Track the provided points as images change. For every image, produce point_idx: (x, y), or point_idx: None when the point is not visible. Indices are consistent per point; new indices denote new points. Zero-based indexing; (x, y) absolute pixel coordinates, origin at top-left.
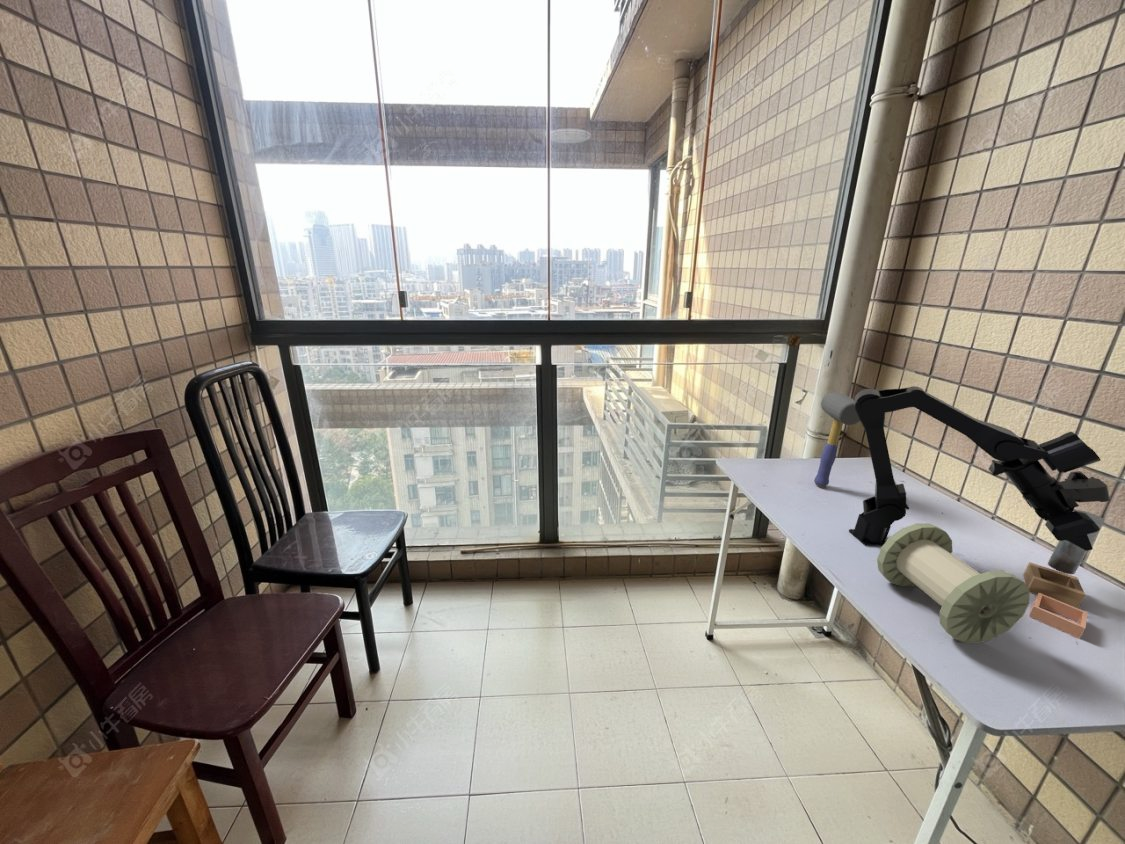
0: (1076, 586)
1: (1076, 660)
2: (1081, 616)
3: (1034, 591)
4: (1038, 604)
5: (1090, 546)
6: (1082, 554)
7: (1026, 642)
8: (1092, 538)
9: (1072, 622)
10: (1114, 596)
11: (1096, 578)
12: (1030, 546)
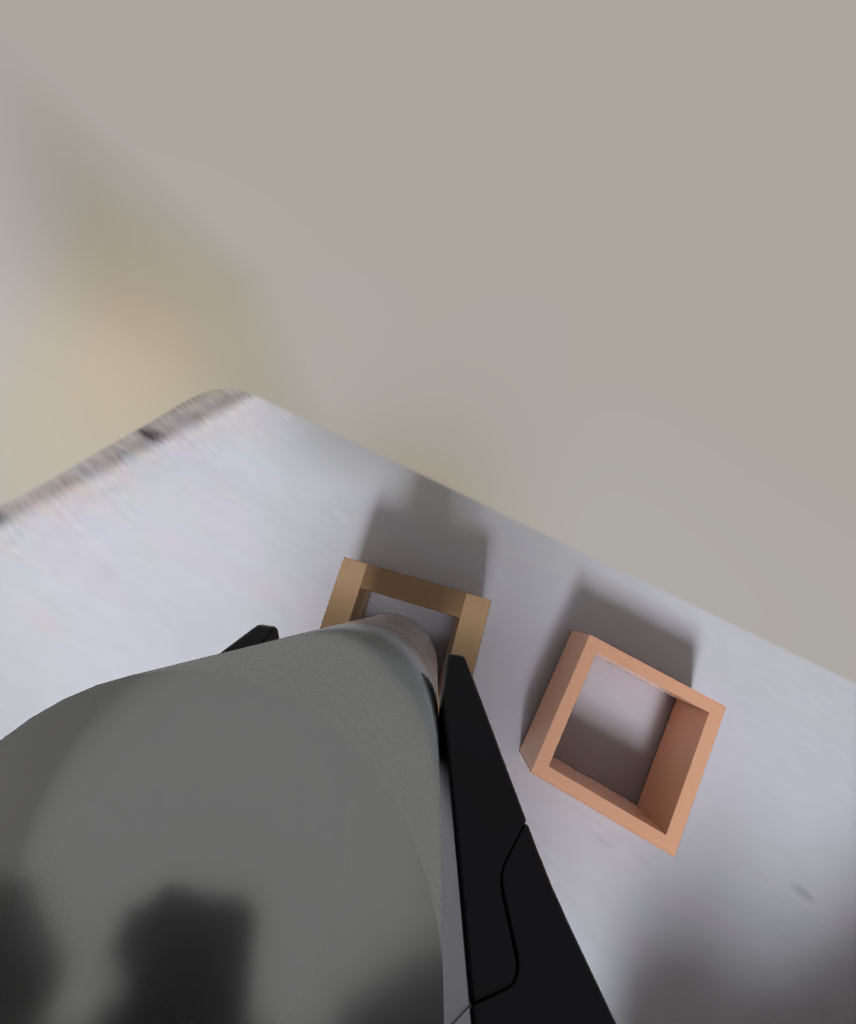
0: (430, 600)
1: (842, 772)
2: (612, 661)
3: None
4: (641, 823)
5: (473, 688)
6: (431, 664)
7: (846, 922)
8: (420, 685)
9: (709, 738)
10: (333, 434)
11: (230, 430)
12: (56, 551)
